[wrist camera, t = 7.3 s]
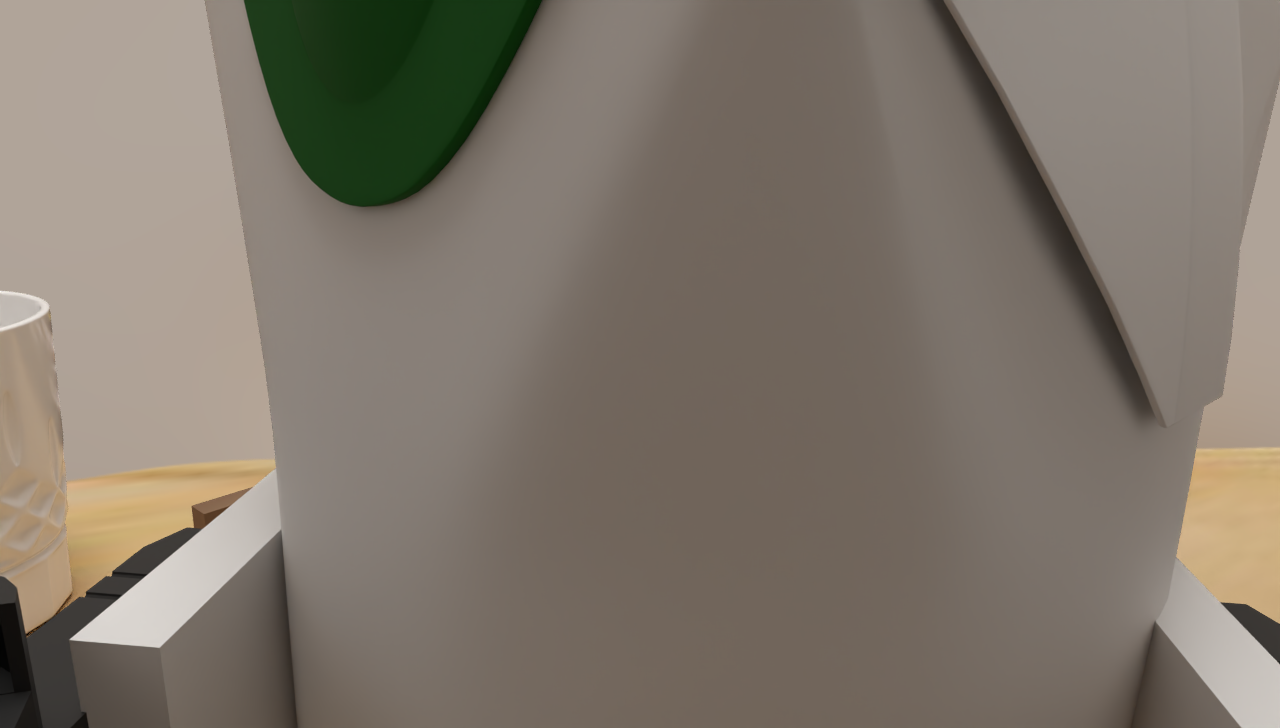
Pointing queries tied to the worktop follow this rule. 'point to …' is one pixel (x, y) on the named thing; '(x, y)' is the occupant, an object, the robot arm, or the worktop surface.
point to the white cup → (31, 461)
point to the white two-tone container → (738, 348)
